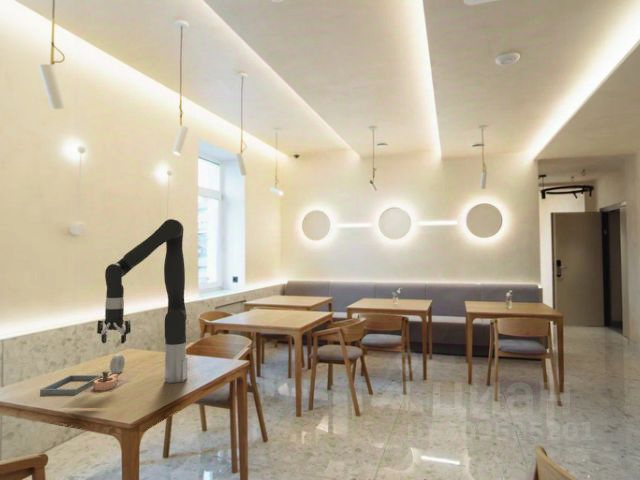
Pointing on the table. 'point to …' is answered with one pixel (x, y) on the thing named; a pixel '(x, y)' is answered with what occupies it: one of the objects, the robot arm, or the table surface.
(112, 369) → the donut
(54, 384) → the tray
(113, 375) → the ring
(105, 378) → the panel
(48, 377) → the table surface
